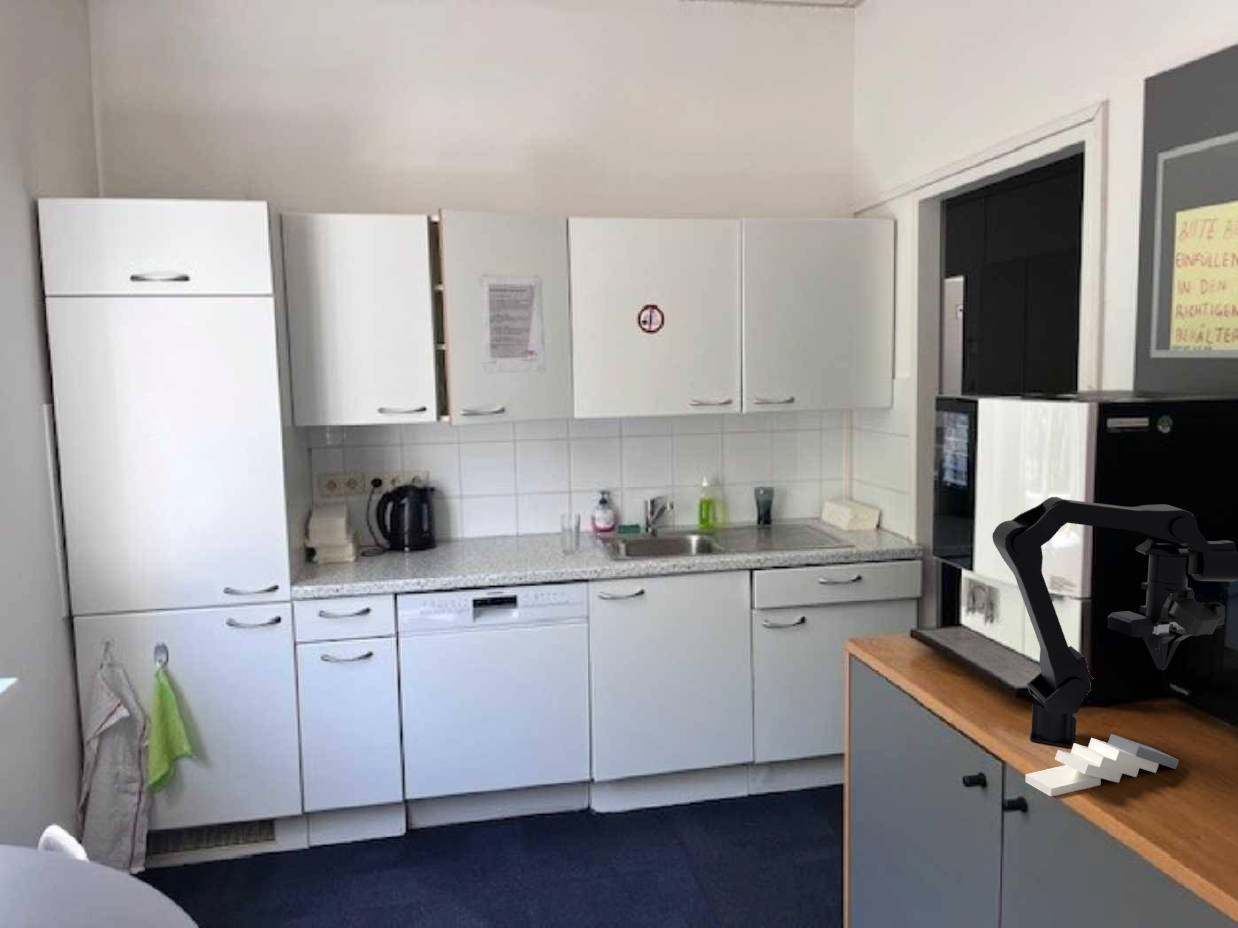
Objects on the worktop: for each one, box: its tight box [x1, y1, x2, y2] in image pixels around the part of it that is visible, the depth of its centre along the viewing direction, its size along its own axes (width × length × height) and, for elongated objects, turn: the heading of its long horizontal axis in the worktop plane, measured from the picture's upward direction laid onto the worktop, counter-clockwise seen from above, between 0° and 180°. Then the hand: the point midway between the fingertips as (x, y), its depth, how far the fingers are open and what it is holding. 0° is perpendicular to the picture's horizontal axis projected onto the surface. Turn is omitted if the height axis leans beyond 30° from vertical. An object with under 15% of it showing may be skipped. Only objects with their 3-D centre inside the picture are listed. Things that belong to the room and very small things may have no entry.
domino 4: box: [1087, 737, 1160, 774], centre depth 141 cm, size 2×5×10 cm
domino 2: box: [1054, 749, 1123, 784], centre depth 137 cm, size 2×5×10 cm
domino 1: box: [1025, 764, 1102, 797], centre depth 137 cm, size 2×5×10 cm
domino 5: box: [1107, 733, 1180, 770], centre depth 142 cm, size 2×5×10 cm
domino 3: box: [1070, 742, 1140, 778], centre depth 139 cm, size 2×5×10 cm
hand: (1161, 668), depth 150 cm, fingers closed
